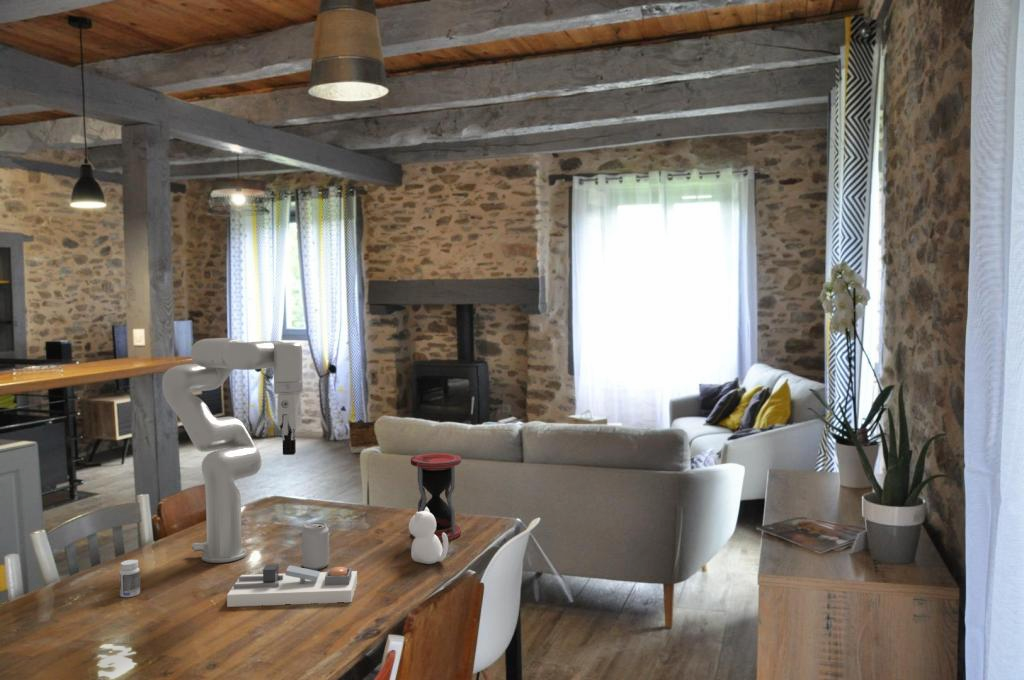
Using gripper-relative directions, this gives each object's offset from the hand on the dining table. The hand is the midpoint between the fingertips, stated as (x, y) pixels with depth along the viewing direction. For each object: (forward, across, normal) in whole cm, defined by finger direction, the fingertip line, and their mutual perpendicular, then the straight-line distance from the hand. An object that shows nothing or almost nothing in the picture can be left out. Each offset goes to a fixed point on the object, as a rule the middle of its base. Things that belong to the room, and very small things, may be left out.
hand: (289, 454), depth 211 cm
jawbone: (+34, +29, 0) cm, 45 cm away
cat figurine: (+33, +6, -38) cm, 51 cm away
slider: (+30, -16, +2) cm, 34 cm away
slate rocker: (+28, -16, -6) cm, 33 cm away
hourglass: (+33, +32, -40) cm, 61 cm away
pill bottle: (+33, -12, +38) cm, 52 cm away
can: (+33, +5, -6) cm, 34 cm away
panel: (+33, -16, -4) cm, 37 cm away
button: (+30, -16, -15) cm, 37 cm away
